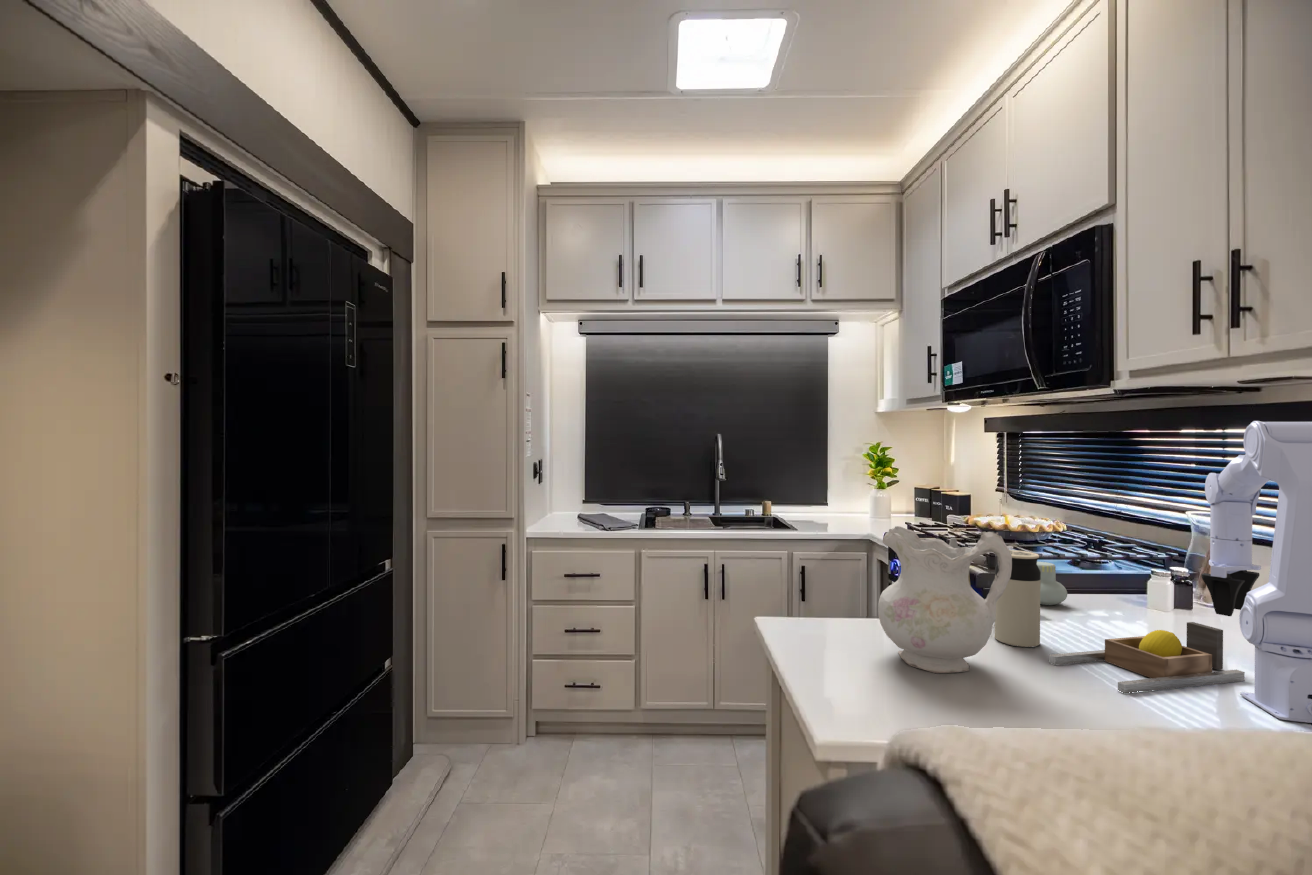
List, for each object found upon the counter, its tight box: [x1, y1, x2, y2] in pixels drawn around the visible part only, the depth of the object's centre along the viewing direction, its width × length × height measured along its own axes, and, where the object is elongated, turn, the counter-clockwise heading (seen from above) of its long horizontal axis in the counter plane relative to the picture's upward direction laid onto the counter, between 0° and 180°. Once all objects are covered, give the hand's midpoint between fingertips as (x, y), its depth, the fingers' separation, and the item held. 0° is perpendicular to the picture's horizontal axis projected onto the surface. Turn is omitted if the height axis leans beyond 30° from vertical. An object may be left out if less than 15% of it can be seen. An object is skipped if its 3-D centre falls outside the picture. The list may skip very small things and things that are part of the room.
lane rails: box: [1048, 649, 1246, 694], centre depth 109 cm, size 26×14×2 cm, turn 104°
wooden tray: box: [1104, 621, 1224, 679], centre depth 111 cm, size 18×11×7 cm, turn 104°
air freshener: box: [1037, 560, 1068, 606], centre depth 156 cm, size 11×8×10 cm
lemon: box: [1139, 629, 1183, 657], centre depth 110 cm, size 6×6×8 cm
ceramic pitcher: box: [877, 526, 1012, 674], centre depth 113 cm, size 22×20×25 cm
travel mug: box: [994, 549, 1041, 648], centre depth 125 cm, size 8×8×18 cm
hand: (1230, 611), depth 114 cm, fingers open, 7 cm apart
